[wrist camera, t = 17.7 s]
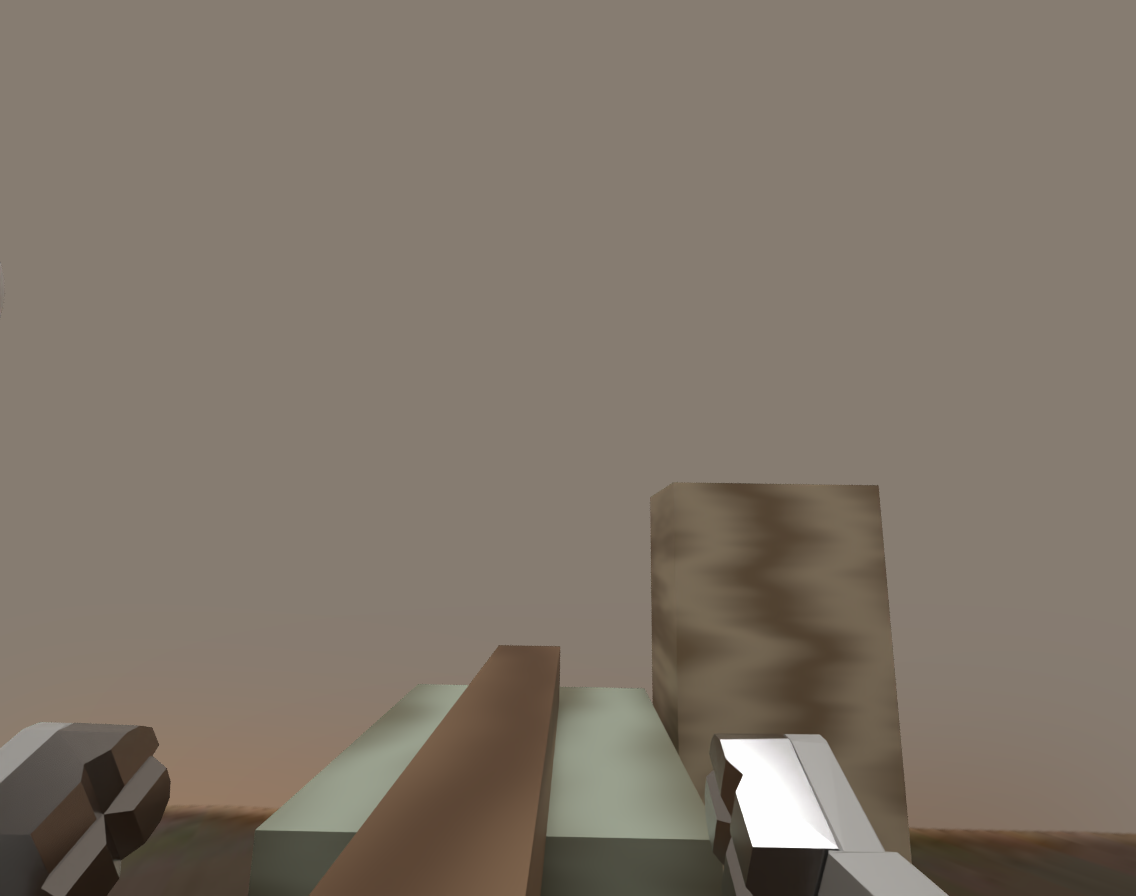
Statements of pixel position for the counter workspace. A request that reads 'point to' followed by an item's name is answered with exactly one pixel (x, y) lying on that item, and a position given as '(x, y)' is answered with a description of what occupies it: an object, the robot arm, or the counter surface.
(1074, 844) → the counter surface
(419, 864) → the walnut bar
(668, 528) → the two step stand
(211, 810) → the counter surface
